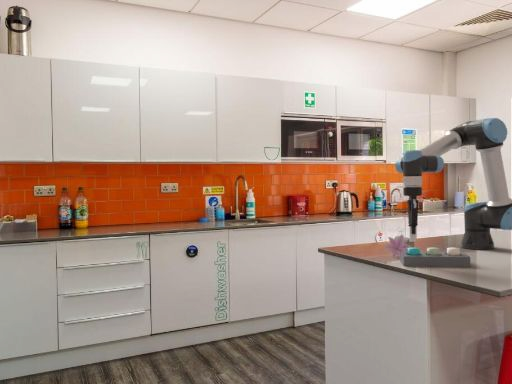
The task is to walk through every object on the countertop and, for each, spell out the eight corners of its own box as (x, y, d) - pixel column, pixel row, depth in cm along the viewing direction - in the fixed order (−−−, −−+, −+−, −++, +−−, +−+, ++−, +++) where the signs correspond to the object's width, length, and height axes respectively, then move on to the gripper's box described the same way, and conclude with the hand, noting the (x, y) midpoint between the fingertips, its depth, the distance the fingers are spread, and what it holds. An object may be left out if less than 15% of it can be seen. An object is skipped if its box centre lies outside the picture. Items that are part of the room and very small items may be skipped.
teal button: (418, 256, 189) (418, 247, 189) (420, 258, 185) (420, 249, 184) (406, 256, 190) (406, 247, 190) (408, 258, 185) (408, 249, 185)
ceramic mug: (407, 253, 212) (407, 237, 212) (392, 251, 218) (392, 236, 218) (418, 251, 219) (418, 235, 219) (403, 249, 225) (403, 234, 225)
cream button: (458, 256, 186) (458, 247, 186) (461, 259, 181) (461, 249, 181) (445, 256, 187) (445, 247, 187) (448, 258, 182) (448, 249, 182)
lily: (379, 259, 204) (383, 243, 200) (385, 246, 214) (389, 230, 209) (405, 268, 200) (410, 252, 195) (409, 254, 209) (415, 238, 204)
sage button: (438, 256, 188) (438, 247, 188) (441, 258, 183) (440, 249, 183) (426, 256, 189) (426, 247, 189) (428, 258, 184) (428, 249, 184)
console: (462, 261, 189) (462, 252, 189) (470, 266, 178) (470, 256, 178) (399, 260, 194) (399, 251, 194) (403, 265, 183) (403, 256, 182)
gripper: (401, 186, 194) (401, 239, 194) (405, 186, 181) (406, 243, 181) (419, 186, 192) (419, 239, 193) (424, 186, 179) (425, 243, 180)
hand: (413, 241), depth 187 cm, fingers closed
